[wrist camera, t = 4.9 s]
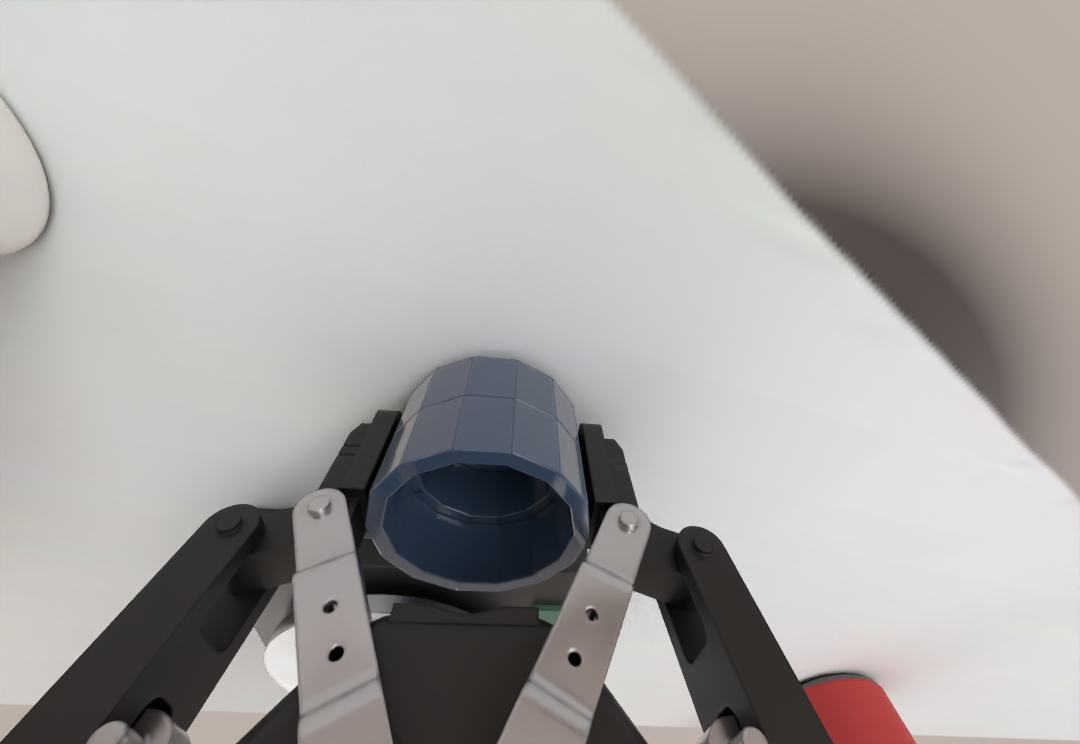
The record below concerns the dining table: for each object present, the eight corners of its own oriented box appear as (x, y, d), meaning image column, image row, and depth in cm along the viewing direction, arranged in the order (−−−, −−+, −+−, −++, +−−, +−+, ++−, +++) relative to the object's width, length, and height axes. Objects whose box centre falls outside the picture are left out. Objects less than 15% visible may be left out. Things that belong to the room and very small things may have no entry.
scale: (252, 507, 18) (210, 567, 16) (584, 523, 19) (591, 581, 17) (312, 646, 25) (289, 701, 23) (552, 651, 26) (554, 705, 24)
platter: (241, 588, 16) (228, 609, 15) (517, 597, 17) (517, 617, 16) (301, 699, 22) (294, 718, 21) (504, 702, 23) (503, 720, 22)
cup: (402, 341, 14) (345, 442, 9) (587, 355, 14) (612, 457, 10) (415, 471, 17) (377, 588, 13) (564, 478, 17) (575, 595, 13)
